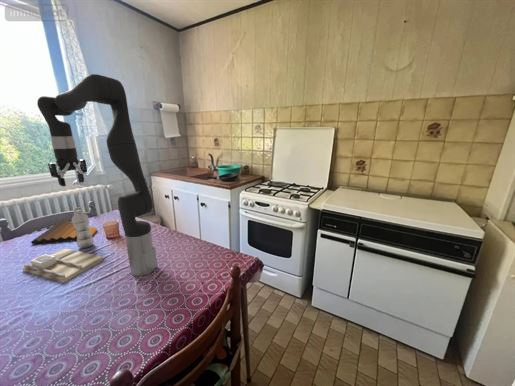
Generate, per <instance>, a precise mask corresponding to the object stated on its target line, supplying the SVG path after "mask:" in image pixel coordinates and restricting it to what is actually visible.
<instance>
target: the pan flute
mask: <svg viewBox="0 0 515 386" xmlns="http://www.w3.org/2000/svg"><path fill="white" fill-rule="evenodd" d="M89 229H90V233H91V236H92V237H93V236H94V235H95V234H96V232H97V231H98V228H97V227H94V226H90V225H89ZM73 241H76V242H77V235H76V231H75V227H74V225H73V223H72V221H70V220H64V219H61V220H60V221H58V222H57V223H56V224H54V225H52V227H50V228H48V229H47V230H45V231H44V232H43V233H41V234H40V235H38V236H37V237H35V238H34V239H32V240H31V241H30V243H31V245H40V244H41V245H43V244H53V243H54V244H55V243H57V242H58V243H62V242H63V243H64V242H73Z"/></svg>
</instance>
